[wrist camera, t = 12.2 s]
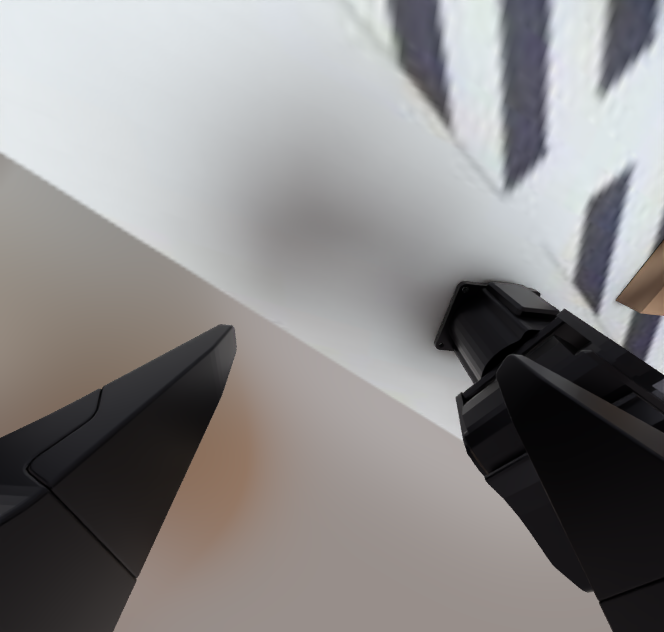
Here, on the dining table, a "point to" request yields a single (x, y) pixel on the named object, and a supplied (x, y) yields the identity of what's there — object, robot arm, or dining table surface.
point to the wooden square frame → (647, 286)
